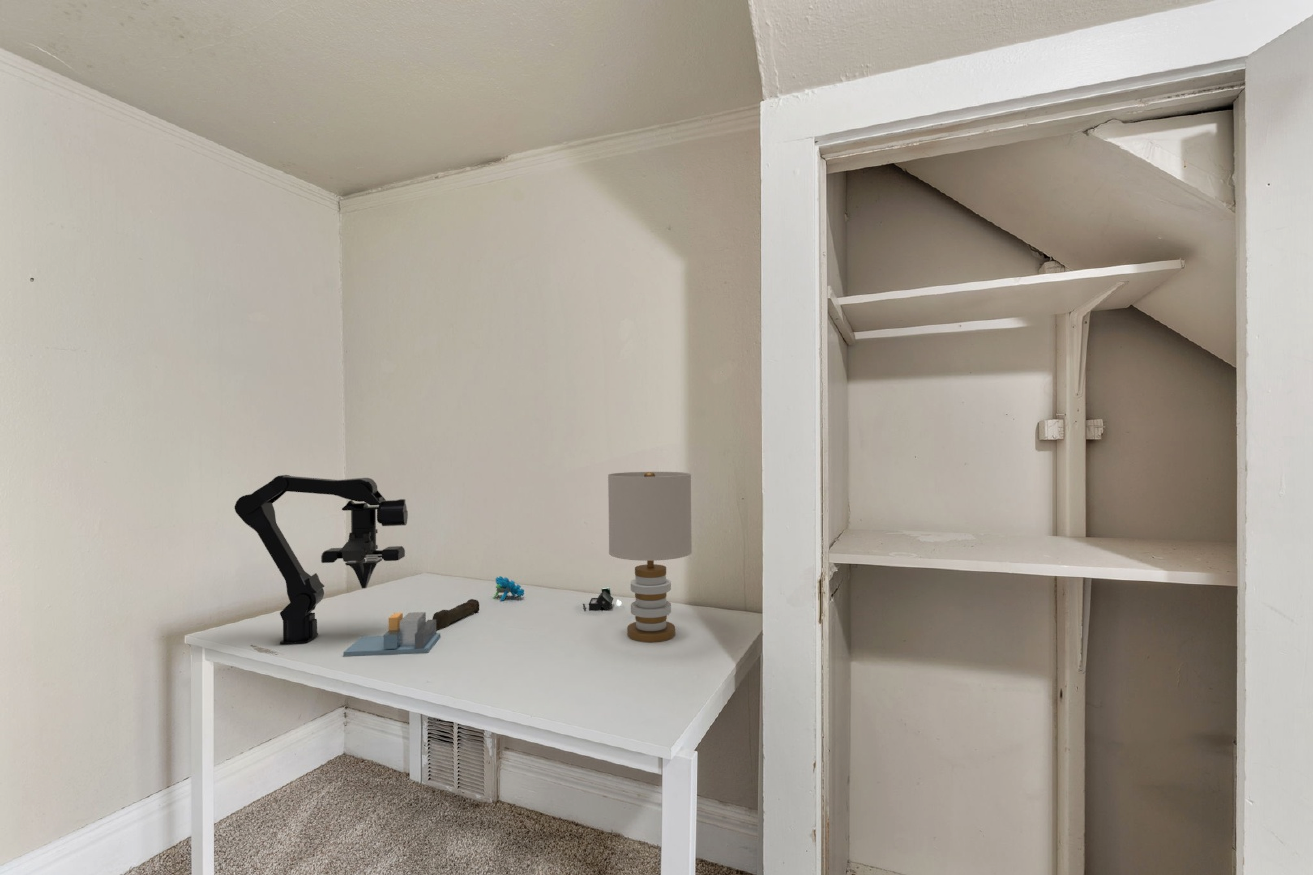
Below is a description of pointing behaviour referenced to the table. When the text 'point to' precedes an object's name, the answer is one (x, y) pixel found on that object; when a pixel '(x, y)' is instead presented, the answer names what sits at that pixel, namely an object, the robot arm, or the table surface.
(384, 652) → the vise
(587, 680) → the table surface
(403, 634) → the steel block
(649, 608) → the lamp
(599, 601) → the black angled gadget
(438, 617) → the brown wooden stick
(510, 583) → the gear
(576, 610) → the table surface
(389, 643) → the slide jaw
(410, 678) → the table surface
